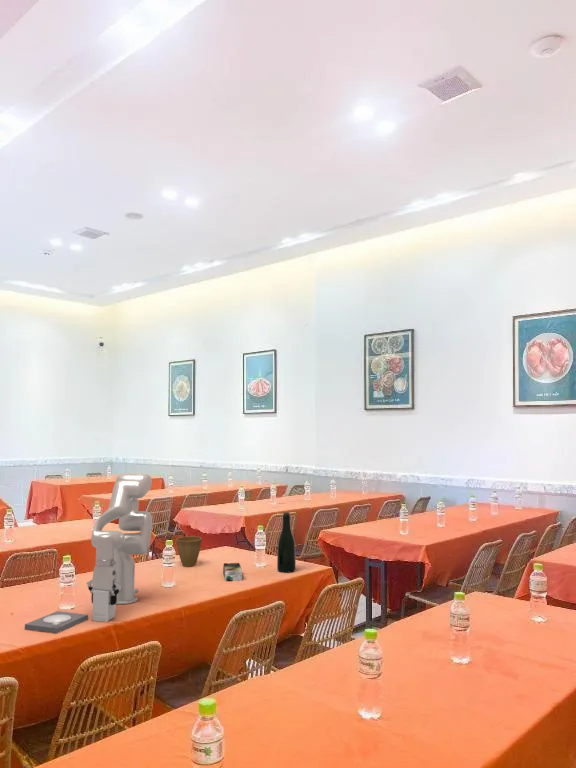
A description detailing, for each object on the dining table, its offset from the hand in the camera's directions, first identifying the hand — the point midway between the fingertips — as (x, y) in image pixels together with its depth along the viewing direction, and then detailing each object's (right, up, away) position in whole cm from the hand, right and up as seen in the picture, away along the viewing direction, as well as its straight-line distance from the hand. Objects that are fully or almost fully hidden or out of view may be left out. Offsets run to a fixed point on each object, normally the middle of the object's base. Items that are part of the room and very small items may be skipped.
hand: (103, 603), depth 281 cm
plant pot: (+21, -13, +105) cm, 108 cm away
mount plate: (-17, -6, -8) cm, 20 cm away
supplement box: (0, -7, 0) cm, 7 cm away
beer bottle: (+79, -13, +92) cm, 121 cm away
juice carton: (+49, -12, +77) cm, 92 cm away
